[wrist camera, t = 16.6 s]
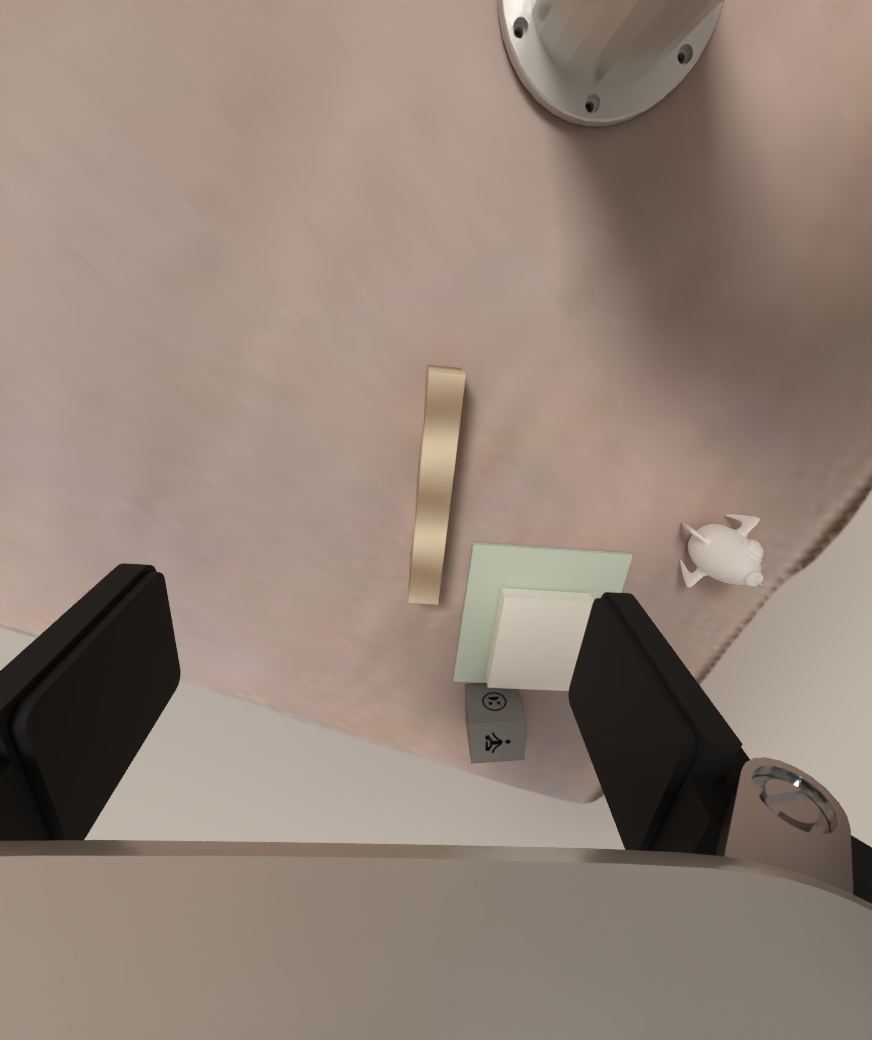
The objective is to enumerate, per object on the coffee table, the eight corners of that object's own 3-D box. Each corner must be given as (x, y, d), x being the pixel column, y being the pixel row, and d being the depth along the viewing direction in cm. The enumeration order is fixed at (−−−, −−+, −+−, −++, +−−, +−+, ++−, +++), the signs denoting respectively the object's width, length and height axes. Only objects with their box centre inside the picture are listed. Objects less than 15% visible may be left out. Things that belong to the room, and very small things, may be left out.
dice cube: (464, 683, 47) (470, 724, 42) (515, 680, 47) (526, 720, 43) (465, 720, 49) (471, 763, 44) (513, 717, 49) (524, 759, 45)
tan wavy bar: (427, 364, 35) (429, 371, 31) (460, 367, 35) (466, 374, 31) (408, 577, 42) (408, 602, 38) (435, 578, 42) (438, 604, 38)
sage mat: (473, 542, 40) (473, 544, 40) (630, 553, 42) (632, 555, 41) (452, 678, 46) (453, 681, 46) (591, 684, 48) (592, 687, 47)
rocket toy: (734, 502, 40) (806, 545, 33) (729, 558, 42) (795, 609, 35) (670, 514, 40) (728, 559, 33) (668, 568, 42) (722, 622, 35)
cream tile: (504, 597, 40) (487, 687, 44) (595, 602, 41) (570, 691, 45) (501, 586, 42) (485, 674, 46) (588, 592, 43) (565, 678, 47)
